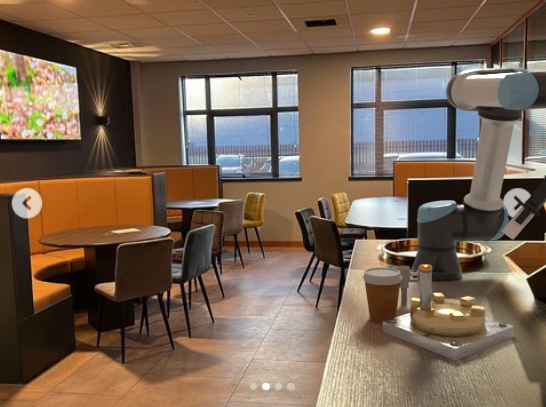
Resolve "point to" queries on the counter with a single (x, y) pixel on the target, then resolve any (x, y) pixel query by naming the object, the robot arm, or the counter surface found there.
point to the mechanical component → (406, 279)
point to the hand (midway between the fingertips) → (507, 235)
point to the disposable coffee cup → (382, 292)
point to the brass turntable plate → (444, 311)
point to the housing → (449, 337)
